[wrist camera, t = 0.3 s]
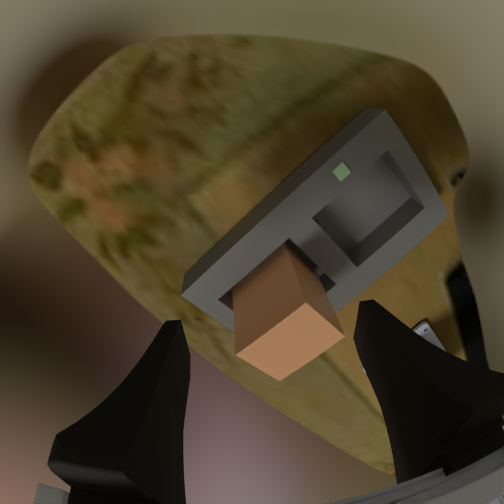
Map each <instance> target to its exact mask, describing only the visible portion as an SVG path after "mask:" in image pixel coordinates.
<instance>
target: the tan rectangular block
mask: <svg viewBox="0 0 504 504" xmlns="http://www.w3.org/2000/svg"><path fill="white" fill-rule="evenodd" d="M232 292H233V313H234V332H235V350H236V355H237V356H238V357H240V358H242V359H243V360H245V361H246V362H248V363H250V364H251V365H253V366H255V367H256V368H258V369H260V370H261V371H263V372H265V373H267V374H268V375H270V376H272V377H273V378H275V379H277V380H279V381H280V380H282V379H284V378H285V377H287V376H288V375H290V374H291V373H293V372H294V371H296V370H298V369H299V368H301V367H302V366H304V365H305V364H307V363H308V362H309V361H311V360H312V359H314V358H315V357H317V356H318V355H320V354H321V353H323V352H324V351H325V350H327V349H328V348H330V347H331V346H333V345H334V344H335V343H337V342H338V341H339V340H341V339H342V338H344V337H345V335H344V332H343V330H342V328H341V326H340V323H339V321H338V319H337V316H336V314H335V312H334V310H333V307H332V305H331V303H330V301H329V298H328V296H327V294H326V292H325V290H324V287H323V285H322V283H321V281H320V279H319V276H318V274H317V272H316V270H315V269H314V268H313V267H312V266H311V265H310V264H309V263H308V262H307V261H306V260H305V259H304V258H303V257H302V256H301V255H300V254H299V253H298V252H297V251H296V250H295V249H293V248H292V247H291V246H290V245H289V244H288V243H287V242H286V241H285V242H284V243H283V244H281V245H280V246H279V247H278V248H277V249H276V250H275V251H273V252H272V253H271V254H270V255H269V256H268V257H267V258H265V259H264V260H263V261H262V262H261V263H260V264H258V265H257V266H256V267H255V268H254V269H253V270H252V271H250V272H249V273H248V274H247V275H246V276H245V277H244V278H242V279H241V280H240V281H239V282H238V283H237V284H235V285H234V286H233V287H232Z"/></svg>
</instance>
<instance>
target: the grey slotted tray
mask: <svg viewBox="0 0 504 504" xmlns="http://www.w3.org/2000/svg"><path fill="white" fill-rule="evenodd" d="M448 215H449V214H448V212H447V210H446V208H445V206H444V204H443V202H442V200H441V198H440V196H439V194H438V192H437V191H436V189H435V187H434V185H433V183H432V182H431V180H430V178H429V176H428V175H427V173H426V171H425V169H424V168H423V166H422V164H421V163H420V161H419V159H418V158H417V156H416V154H415V153H414V151H413V150H412V148H411V146H410V145H409V143H408V142H407V140H406V139H405V137H404V136H403V134H402V133H401V131H400V130H399V128H398V127H397V125H396V124H395V122H394V121H393V119H392V118H391V117H390V115H389V114H388V112H387V111H386V110H385V109H381V108H375V107H369V106H367V107H366V108H365V109H364V110H363V111H362V112H361V113H359V114H358V115H357V116H356V117H355V118H354V119H353V120H351V121H350V122H349V123H348V124H347V125H346V126H345V127H343V128H342V129H341V130H340V131H339V132H338V133H337V134H335V135H334V136H333V137H332V138H331V139H330V140H329V141H328V142H326V143H325V144H324V145H323V146H322V147H321V148H320V149H319V150H318V151H316V152H315V153H314V154H313V155H312V156H311V157H310V158H309V159H307V160H306V161H305V162H304V163H303V164H302V165H301V166H300V167H299V168H298V169H296V170H295V171H294V172H293V173H292V174H291V175H290V176H289V177H288V178H287V179H285V180H284V181H283V182H282V183H281V184H280V185H279V186H278V187H277V188H276V189H275V190H273V191H272V192H271V193H270V194H269V195H268V196H267V197H266V198H265V199H264V200H263V201H262V202H260V203H259V204H258V205H257V206H256V207H255V208H254V209H253V210H252V211H251V212H250V213H249V214H248V215H246V216H245V217H244V218H243V219H242V220H241V221H240V222H239V223H238V224H237V225H236V226H235V227H234V228H233V229H232V230H231V231H229V232H228V233H227V234H226V235H225V236H224V237H223V238H222V239H221V240H220V241H219V242H218V243H217V244H216V245H215V246H214V247H213V248H212V249H211V250H209V251H208V252H207V253H206V254H205V255H204V256H203V257H202V258H201V259H200V260H199V261H198V262H197V263H196V264H195V265H194V266H193V267H192V268H191V269H190V270H189V271H188V272H187V273H186V274H185V275H184V280H183V285H182V291H181V296H183V297H184V298H185V299H187V300H188V301H189V302H191V303H192V304H194V305H195V306H196V307H198V308H199V309H201V310H202V311H203V312H205V313H206V314H208V315H209V316H211V317H212V318H213V319H215V320H216V321H218V322H219V323H221V324H222V325H223V326H225V327H226V328H228V329H229V330H231V331H232V332H234V313H233V292H232V287H233V286H234V285H235V284H237V283H238V282H239V281H240V280H241V279H242V278H244V277H245V276H246V275H247V274H248V273H249V272H250V271H252V270H253V269H254V268H255V267H256V266H257V265H258V264H260V263H261V262H262V261H263V260H264V259H265V258H267V257H268V256H269V255H270V254H271V253H272V252H273V251H275V250H276V249H277V248H278V247H279V246H280V245H281V244H283V243H284V242H285V241H286V242H287V243H288V244H289V245H290V246H291V247H292V248H293V249H295V250H296V251H297V252H298V253H299V254H300V255H301V256H302V257H303V258H304V259H305V260H306V261H307V262H308V263H309V264H310V265H311V266H312V267H313V268H314V269H315V270H316V272H317V274H318V276H319V279H320V281H321V283H322V285H323V287H324V290H325V292H326V294H327V296H328V298H329V301H330V303H331V305H332V307H333V310H334V312H335V313H336V312H337V311H338V310H340V309H341V308H342V307H344V306H345V305H346V304H347V303H349V302H350V301H351V300H352V299H354V298H355V297H356V296H357V295H359V294H360V293H361V292H362V291H364V290H365V289H366V288H367V287H369V286H370V285H371V284H372V283H373V282H375V281H376V280H377V279H378V278H379V277H381V276H382V275H383V274H384V273H385V272H386V271H388V270H389V269H390V268H391V267H392V266H394V265H395V264H396V263H397V262H398V261H399V260H400V259H402V258H403V257H404V256H405V255H406V254H407V253H408V252H410V251H411V250H412V249H413V248H414V247H415V246H416V245H417V244H418V243H420V242H421V241H422V240H423V239H424V238H425V237H426V236H427V235H428V234H429V233H430V232H431V231H433V230H434V229H435V228H436V227H437V226H438V225H439V224H440V223H441V222H442V221H443V220H444V219H445V218H446V217H447V216H448ZM234 333H235V332H234Z"/></svg>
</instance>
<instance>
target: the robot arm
mask: <svg viewBox="0 0 504 504" xmlns="http://www.w3.org/2000/svg"><path fill="white" fill-rule="evenodd" d="M354 341H355V345H356V348H357V352H358V355H359V358H360V360H361V363H362V365H363V371H364V372H365V373H366V374H367V376H368V378H369V381H370V383H371V385H372V387H373V390H374V392H375V394H376V396H377V399H378V401H379V404H380V407H381V410H382V413H383V417H384V420H385V424H386V427H387V432H388V436H389V440H390V444H391V449H392V454H393V459H394V466H395V472H396V479H397V485H394V486H391V487H388V488H385V489H382V490H378V491H375V492H372V493H368V494H364V495H360V496H356V497H353V498H348V499H344V500H340V501H335V502H330V503H325V504H504V498H503V494H504V426H503V425H504V420H503V418H502V416H503V414H504V373H500V372H496V371H492V370H489V369H485V368H483V367H480V366H477V365H474V364H472V363H469V362H467V361H464V360H462V359H460V358H458V357H456V356H454V355H452V354H450V353H448V352H446V350H445V349H444V347H443V346H442V344H441V342H440V341H439V339H438V338H437V336H436V335H435V334H434V332H433V331H432V329H431V328H430V326H429V325H428V323H427V322H425V321H424V322H422V323H420V324H419V325H418V326H417V327H415V328H414V329H413V330H412V329H410V328H409V327H408V326H406V325H405V324H404V323H402V322H401V321H400V320H399V319H397V318H396V317H395V316H394V315H392V314H391V313H390V312H389V311H387V310H386V309H385V308H384V307H382V306H381V305H380V304H379V303H377V302H376V301H375V300H366V301H360V303H359V309H358V315H357V321H356V327H355V332H354ZM189 382H190V352H189V349H188V345H187V341H186V338H185V334H184V330H183V326H182V323H181V320H171V321H165V323H164V324H163V326H162V327H161V329H160V330H159V332H158V334H157V335H156V337H155V338H154V340H153V341H152V343H151V344H150V346H149V348H148V349H147V350H146V352H145V353H144V355H143V356H142V358H141V359H140V360H139V362H138V363H137V364H136V366H135V367H134V368H133V369H132V371H131V372H130V373H129V374H128V376H127V377H126V378H125V379H124V381H123V382H122V383H121V384H120V385H119V386H118V387H117V388H116V389H115V390H114V391H113V392H112V393H111V394H110V395H109V396H108V397H107V398H106V399H105V400H104V401H103V402H102V403H100V404H99V405H98V406H97V407H96V408H95V409H93V410H92V411H91V412H90V413H88V414H87V415H86V416H84V417H83V418H82V419H80V420H79V421H77V422H76V423H74V424H73V425H71V426H69V427H68V428H66V429H65V430H63V431H61V432H60V433H58V434H57V435H56V437H55V439H54V442H53V446H52V449H51V452H50V456H49V460H48V463H47V465H48V466H49V468H50V470H51V471H52V472H53V473H54V474H55V475H57V476H58V477H59V478H61V479H62V480H63V481H64V482H66V483H67V484H68V485H70V486H71V490H70V493H68V492H66V491H64V490H61V489H58V488H54V487H50V486H47V485H44V484H41V483H40V484H38V486H37V490H36V494H35V498H34V503H33V504H186V498H185V485H184V466H183V465H184V464H183V428H184V419H185V411H186V404H187V396H188V388H189Z"/></svg>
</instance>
